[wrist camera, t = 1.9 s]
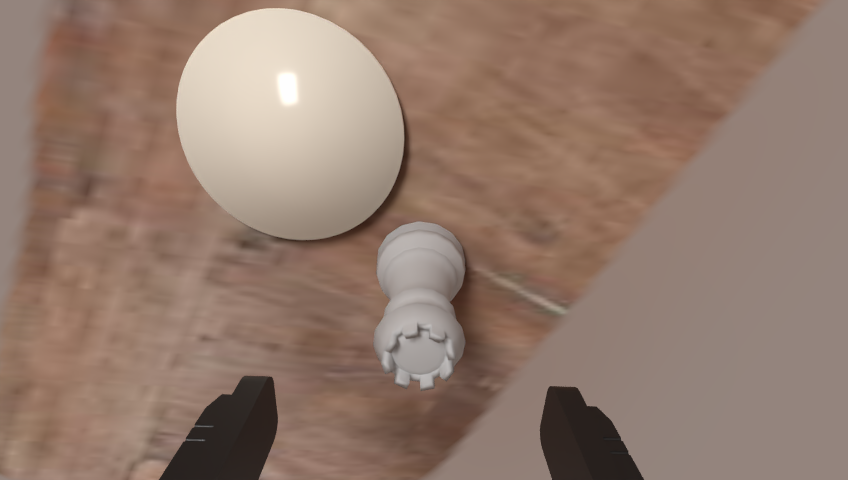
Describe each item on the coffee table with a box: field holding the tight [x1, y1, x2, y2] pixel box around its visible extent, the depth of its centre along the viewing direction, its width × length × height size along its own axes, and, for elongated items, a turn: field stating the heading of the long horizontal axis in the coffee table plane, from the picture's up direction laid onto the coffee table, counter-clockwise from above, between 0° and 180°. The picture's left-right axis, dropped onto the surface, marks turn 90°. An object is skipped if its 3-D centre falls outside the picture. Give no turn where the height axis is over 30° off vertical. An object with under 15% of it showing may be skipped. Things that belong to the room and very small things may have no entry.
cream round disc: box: [177, 8, 405, 240], centre depth 18 cm, size 10×10×1 cm
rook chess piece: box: [373, 222, 466, 391], centre depth 17 cm, size 4×4×8 cm
